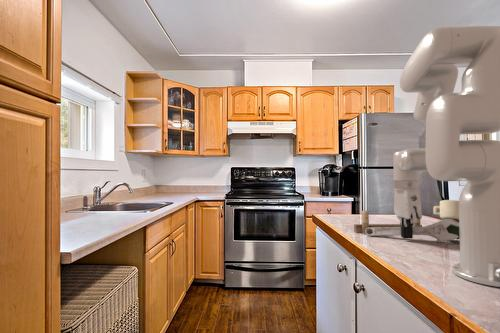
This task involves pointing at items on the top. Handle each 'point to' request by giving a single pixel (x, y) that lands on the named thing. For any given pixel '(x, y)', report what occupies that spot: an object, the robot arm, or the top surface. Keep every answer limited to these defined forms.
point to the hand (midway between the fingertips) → (406, 237)
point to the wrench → (421, 230)
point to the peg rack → (365, 224)
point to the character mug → (449, 214)
